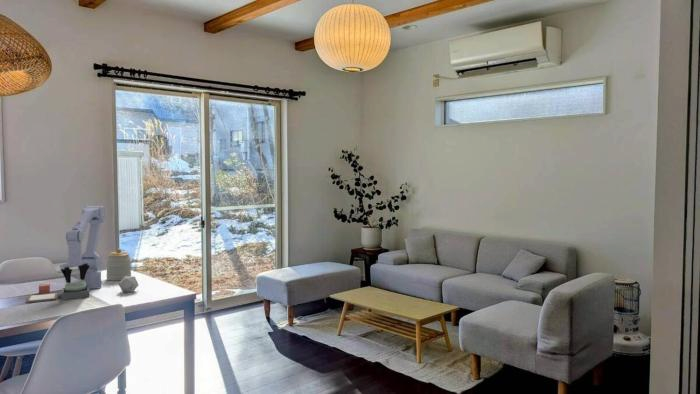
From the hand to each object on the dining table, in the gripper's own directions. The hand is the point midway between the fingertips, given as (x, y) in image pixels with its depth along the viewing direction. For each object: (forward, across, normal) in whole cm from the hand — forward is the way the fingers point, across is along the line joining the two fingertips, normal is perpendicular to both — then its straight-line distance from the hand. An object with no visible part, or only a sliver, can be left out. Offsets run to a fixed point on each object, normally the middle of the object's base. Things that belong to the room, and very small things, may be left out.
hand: (75, 281), depth 240 cm
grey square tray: (+7, 0, 0) cm, 7 cm away
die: (+8, -17, +17) cm, 25 cm away
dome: (+4, 0, 0) cm, 4 cm away
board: (+7, +11, -9) cm, 16 cm away
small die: (+7, +4, -17) cm, 19 cm away
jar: (+7, -36, -12) cm, 39 cm away
